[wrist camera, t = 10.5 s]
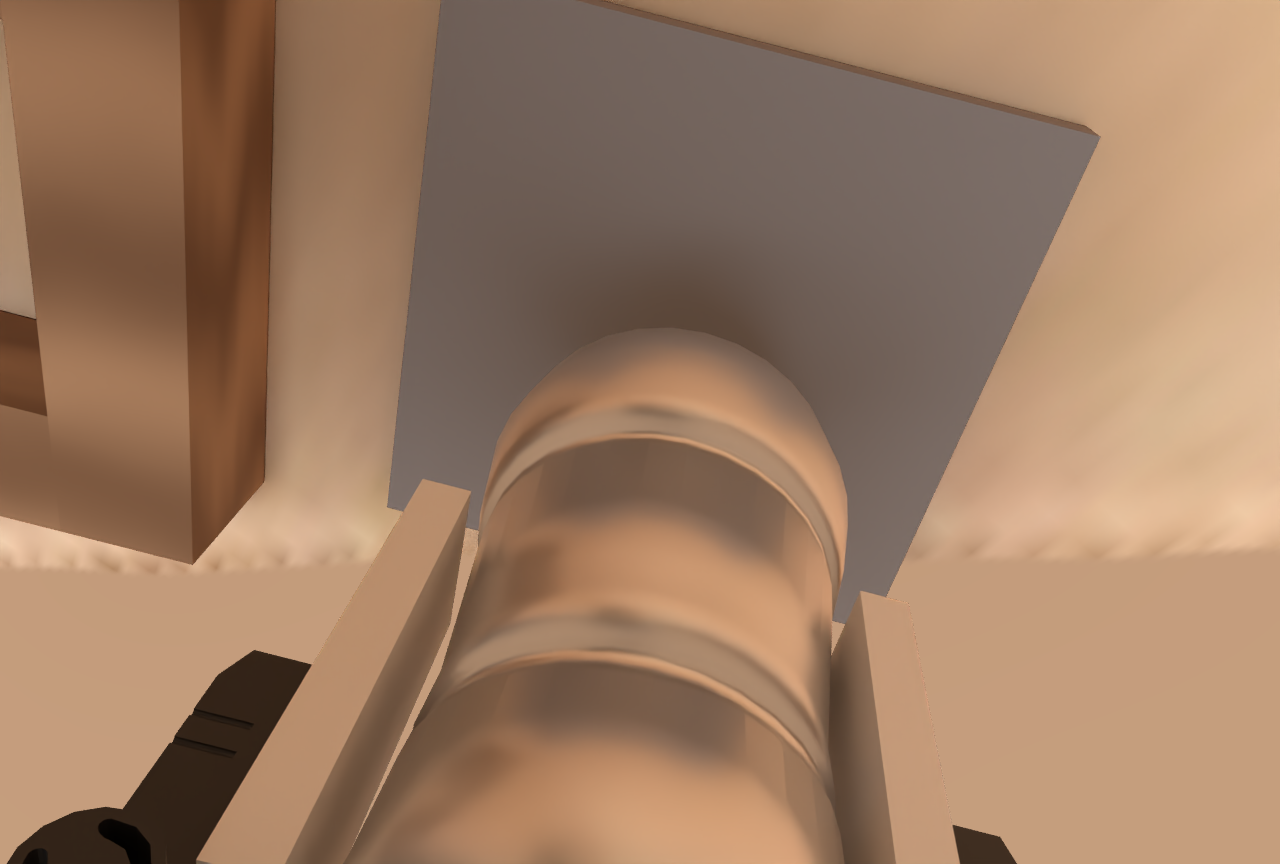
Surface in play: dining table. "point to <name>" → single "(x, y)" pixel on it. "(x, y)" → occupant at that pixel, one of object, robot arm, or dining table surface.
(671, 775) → the plastic bottle
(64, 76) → the walnut block
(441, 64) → the charcoal mat
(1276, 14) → the dining table surface
